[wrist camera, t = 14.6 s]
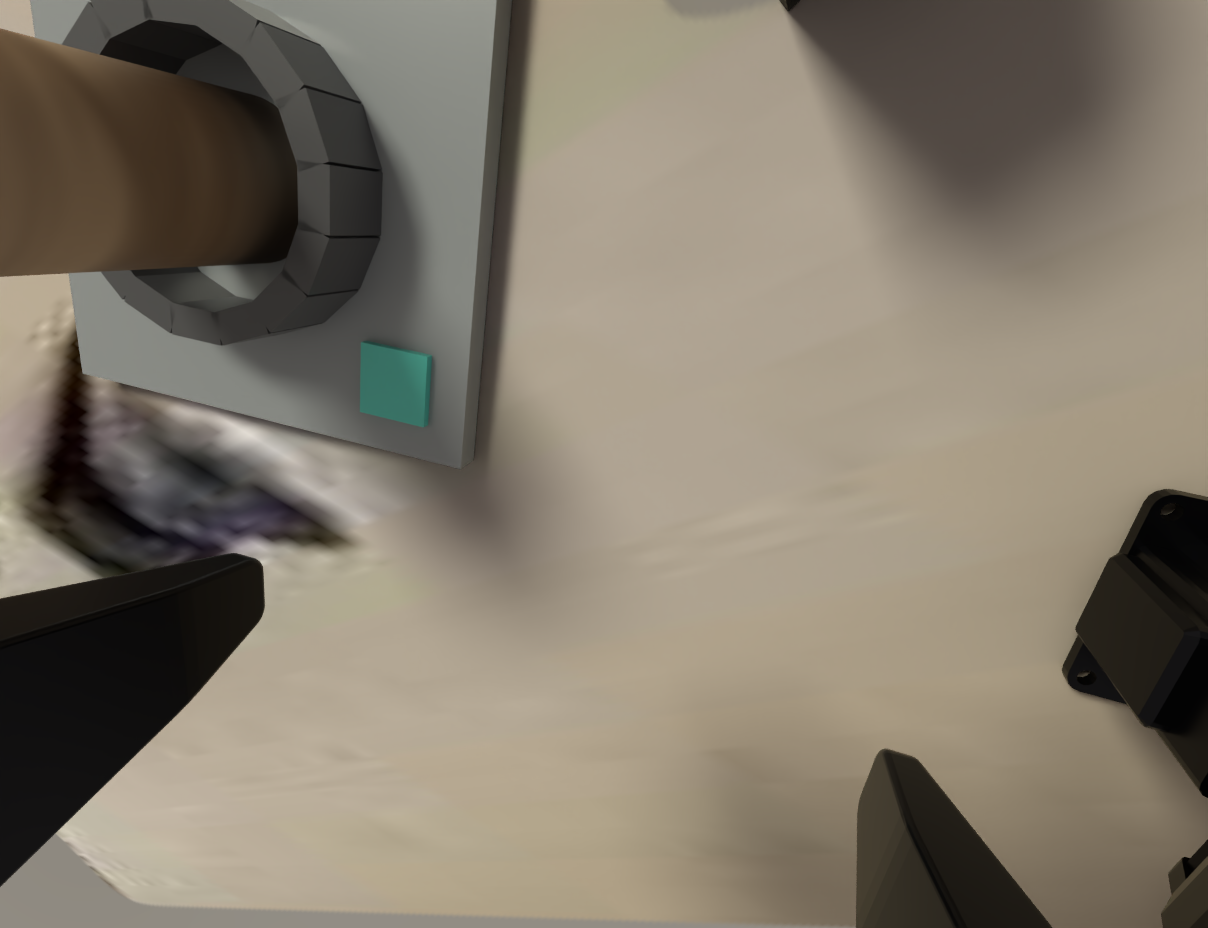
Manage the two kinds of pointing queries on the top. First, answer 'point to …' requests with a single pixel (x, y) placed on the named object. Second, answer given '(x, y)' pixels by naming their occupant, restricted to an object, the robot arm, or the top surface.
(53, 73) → the plug
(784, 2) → the speaker
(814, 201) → the top surface
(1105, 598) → the robot arm
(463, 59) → the socket
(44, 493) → the top surface
